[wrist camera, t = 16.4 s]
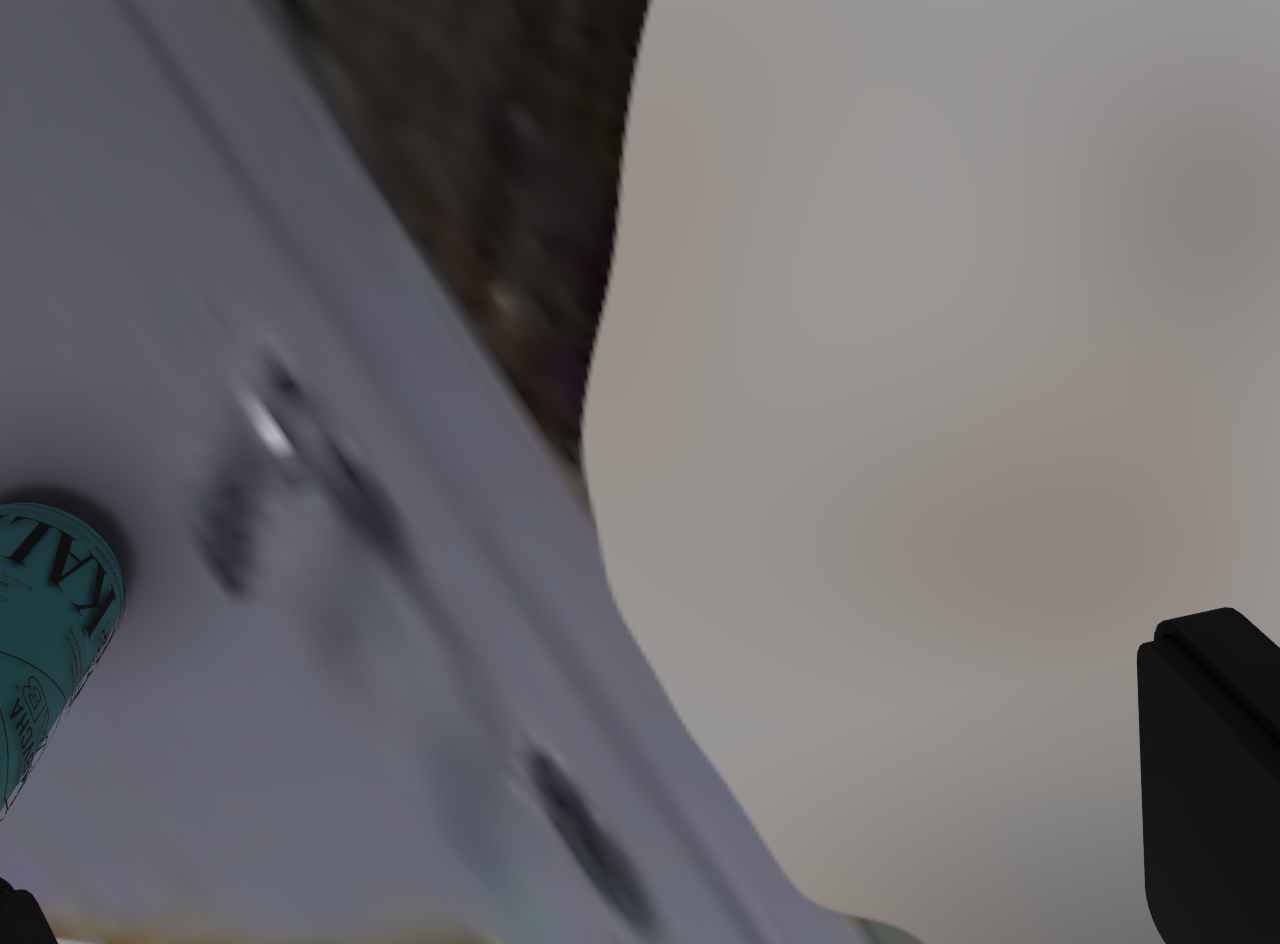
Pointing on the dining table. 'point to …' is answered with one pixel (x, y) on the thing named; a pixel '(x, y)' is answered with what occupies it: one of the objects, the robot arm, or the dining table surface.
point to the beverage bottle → (47, 624)
